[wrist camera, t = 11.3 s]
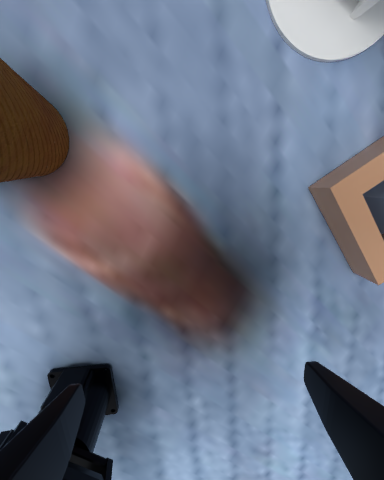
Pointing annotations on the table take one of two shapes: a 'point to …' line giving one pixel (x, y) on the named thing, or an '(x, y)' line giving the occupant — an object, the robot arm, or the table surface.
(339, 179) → the frame
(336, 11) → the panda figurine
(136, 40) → the table surface
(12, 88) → the disposable coffee cup
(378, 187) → the post
